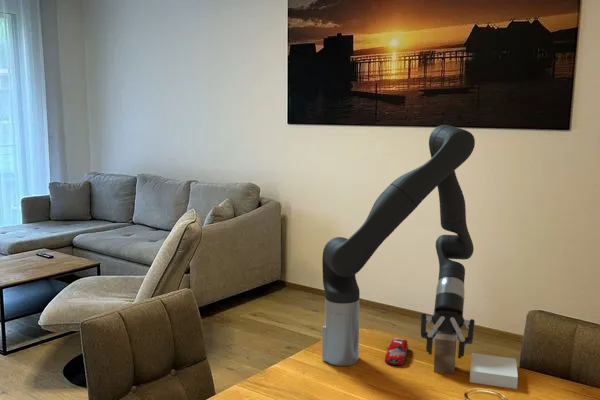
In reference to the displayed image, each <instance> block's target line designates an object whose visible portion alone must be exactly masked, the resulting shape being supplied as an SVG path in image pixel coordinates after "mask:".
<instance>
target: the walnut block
mask: <svg viewBox="0 0 600 400" xmlns="http://www.w3.org/2000/svg"><path fill="white" fill-rule="evenodd" d="M456 348H457V337H456V334H455V333H444V332H437V333H436V336H435V337H434V356H433V357H434V358H433V359H434V361H433V363H434V365H433V372H434V373H441V374H447V375H454V374H455V369H456V354H457V350H456Z"/></svg>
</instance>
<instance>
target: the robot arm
mask: <svg viewBox="0 0 600 400" xmlns="http://www.w3.org/2000/svg"><path fill="white" fill-rule="evenodd" d="M475 139H476V138H475V136H474V135H473V133H472V132H470V131H468V130H466V129H464V128H460V127H457V126H453V125H449V124H441V125H438V126H436V127H435V128H434V129H433V130H432V131H431V133H430V135H429V138H428V148H429V153H430V159H429V160H428V161H426V162H424V163H423V164H422V165H420V166H419V167H416V168H413V170H410V171H408V172H406V173H404V174H403V175H400V176H399V177H397V178H396V179H395V180H393V181H392V182H391V183H390V184H389V185H388V186H386V188H384V190H383V191H382V192H381V193H380V195H379V196H378V197H377V198H376V200H375V201H374V203H373V206H372V207H371V209H370V211H369V213H368V215H367V217H366V219H365V221H364V223H363V224H362V225H361V226H360V227H359V228H358V230H356V231H355V232H354V233H353V234H352V235H351V236H350V237H349V238H346V237H343V236H342V237H341V236H336V237H333V238H331V239H329V241H328V242H327V243H326V244H325V245H324V247H323V251H322V258H321V260H322V261H321V262H322V266H321V267H322V286H323V291H324V325H323V326H322V330H321V331H322V333H321V334H322V335H321V336H322V342H321V343H322V346H321V347H322V349H321V350H322V352H321V353H322V356H321V357H322V359H321V360H322V361H323V362H327V363H328V364H331V365H333V366H336V367H338V366H339V367H340V366H341V367H344V366H345V367H346V366H347V367H349V366H353V365H355V364H357V363H358V362H359V359H360V358H359V354H360V351H359V349H360V348H359V347H360V293H361V292H360V288H359V284H358V282H357V278H356V277H357V276H356V275H357V274H358V273H359V272H360V271H361V270H362V269H363V268H364V267H365V266H366V264H367V263H368V261H369V260H370V258H371V257H372V256H373V255H374V253H375V252H376V251H377V249H379V247H380V246H381V245H382V243H384V242H385V241H386V239H388V237H389V236H390V235H392V233H393V232H394V231H395V230H397V228H398V227H399V226H400V225H401V224H402V223H403V221H405V220H406V219H407V218H408V217H409V216H410V215H411V214H412V213H413V212H414V211H415V210H416V209H417V208H418V206H419V205H420V204H421V203H422V202H423V201H424V200H425V199H426V198H427V196H429V195H431V192H433V191H434V190H435V189H436V187H437V191H438V199H439V214H440V215H439V217H440V226H441V228H442V229H443V230H445V231H447V232H451V233H453V234H442V235H440V236H438V237H437V238H436V241H435V251H436V254H437V255H436V256H437V259H438V267H439V269H438V279H437V280H438V281H437V286H436V290H435V299H434V310H433V313H432V315H426V314H425V313H422V314H421V321H420V337H421V338H422V339H426V346H425V347H426V348H425V349H426V352H427V353H428V355H433V354H432V353H433V345H434V340H435V337H436V333H437V332H444V333H453V334H456V339H457V340H458V350H457V351H458V353H457V359H462V357H464V356H465V349H466V348H465V346H466V345H472V344H473V340H474V331H475V321H476V320H475V319H465V318H464V305H465V278H466V277H465V276H466V268H465V266H464V265H463V264H462V263H461V262H458V261H455V260H464V261H465V260H469V259H470V258H471V257H472V256H473V254H474V250H475V249H474V243H473V240H472V238H471V234H470V232H469V230H468V229H469V228H468V225H467V211H466V200H465V196H464V194H463V190H462V188H461V185H460V183H459V180H458V178H457V174H456V170H457V169H458V168H459V167H460V166H461V165H463V164H464V163H465V162H466V161H467V160H468V159H469V157H471V155H472V154H473V151H474V149H475V145H476V140H475ZM430 322H432V323H433V326H432V328H431V329H430V330H429V332H427V325H428V324H430ZM464 325H465V328H466V329H467V330H468V333H467V336H466V337H464V335H463V333H462V330H461V328H462V327H463V326H464Z"/></svg>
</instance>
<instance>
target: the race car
mask: <svg viewBox="0 0 600 400" xmlns="http://www.w3.org/2000/svg"><path fill="white" fill-rule="evenodd" d="M408 343H409V342H408V341H407V340H406V339H405V338H392V339H391V340H390V343H389V345H388V347H387V346H386V349H387V350H386V353H385V356H384V361H385V363H386V364H388V365H394V366H401V365H405V363H406V362H405V361H406V358H407V356H408V352H409V344H408Z"/></svg>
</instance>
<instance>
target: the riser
mask: <svg viewBox="0 0 600 400" xmlns="http://www.w3.org/2000/svg"><path fill="white" fill-rule="evenodd" d="M518 374H519V373H518V365H517V358H514V357H513V358H512V357H507V356H505V357H504V356H496V355H491V354H490V355H489V354H483V353H475V352H472V353H471V360H470V370H469V383H472V384H473V383H474V384H478V385H479V384H481V385H486V386H487V385H488V386H495V387H501V388H508V389H514V390H517V389H518V379H519V377H518V376H519V375H518Z"/></svg>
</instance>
